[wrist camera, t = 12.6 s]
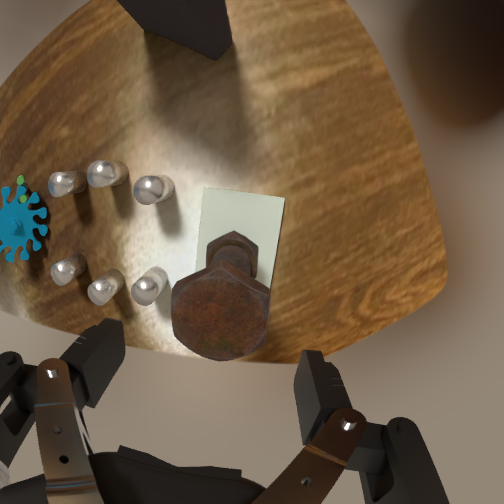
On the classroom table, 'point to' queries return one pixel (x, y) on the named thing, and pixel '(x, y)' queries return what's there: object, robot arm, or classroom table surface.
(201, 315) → the bolt
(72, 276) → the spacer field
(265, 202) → the plate
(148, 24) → the dark grey slab
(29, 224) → the gear
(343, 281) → the classroom table surface
